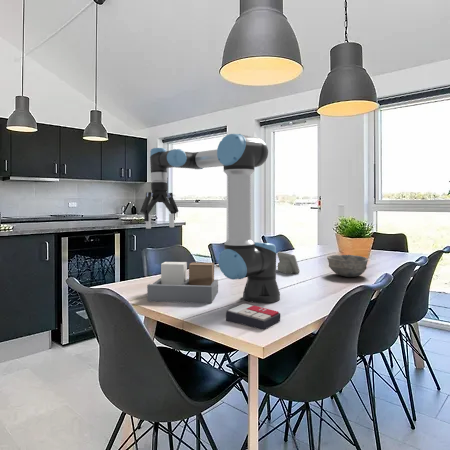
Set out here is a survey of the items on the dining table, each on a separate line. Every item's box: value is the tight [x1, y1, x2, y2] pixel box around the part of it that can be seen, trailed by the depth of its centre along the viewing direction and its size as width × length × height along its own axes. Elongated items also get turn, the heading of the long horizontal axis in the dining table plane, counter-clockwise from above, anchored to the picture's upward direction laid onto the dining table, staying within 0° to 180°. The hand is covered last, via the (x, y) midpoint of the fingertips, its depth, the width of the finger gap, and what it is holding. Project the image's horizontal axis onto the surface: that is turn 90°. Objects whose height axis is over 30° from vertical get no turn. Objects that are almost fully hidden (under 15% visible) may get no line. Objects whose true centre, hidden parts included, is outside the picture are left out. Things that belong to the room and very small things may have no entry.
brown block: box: [188, 261, 215, 286], centre depth 166 cm, size 6×10×11 cm, turn 83°
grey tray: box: [146, 277, 219, 304], centre depth 160 cm, size 18×26×6 cm
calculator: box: [225, 303, 281, 331], centre depth 128 cm, size 11×4×15 cm
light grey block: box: [160, 261, 188, 285], centre depth 167 cm, size 6×10×11 cm, turn 83°
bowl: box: [326, 254, 369, 278], centre depth 201 cm, size 21×21×10 cm
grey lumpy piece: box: [276, 251, 300, 275], centre depth 213 cm, size 16×9×11 cm, turn 12°
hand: (160, 228), depth 177 cm, fingers open, 13 cm apart
